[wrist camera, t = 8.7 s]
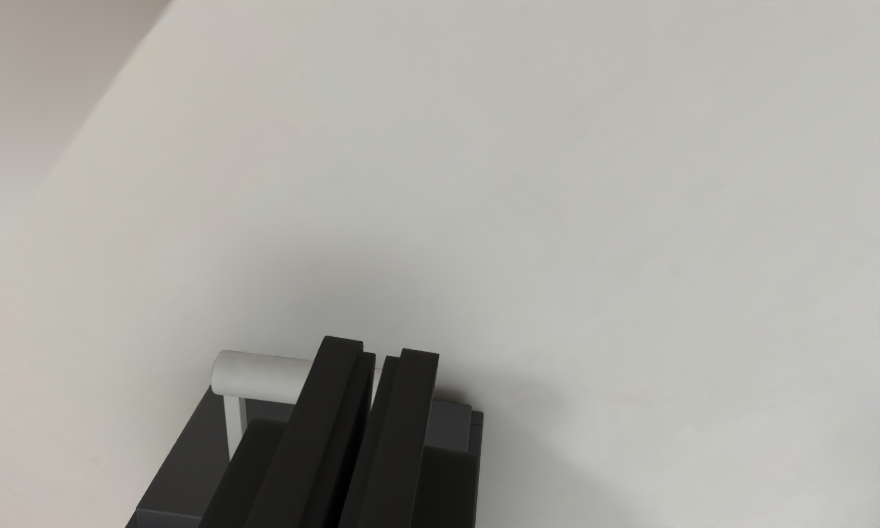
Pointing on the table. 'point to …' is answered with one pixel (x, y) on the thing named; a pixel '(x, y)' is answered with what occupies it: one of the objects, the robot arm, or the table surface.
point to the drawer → (225, 421)
